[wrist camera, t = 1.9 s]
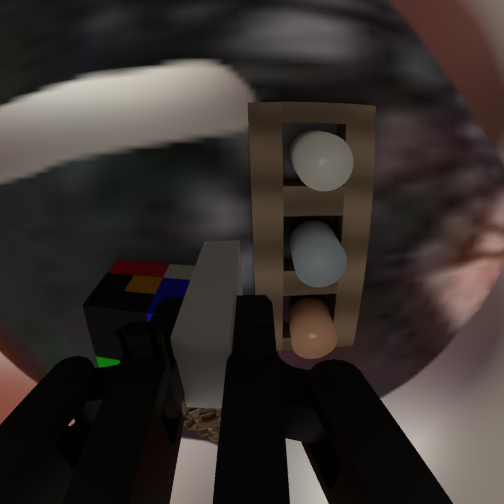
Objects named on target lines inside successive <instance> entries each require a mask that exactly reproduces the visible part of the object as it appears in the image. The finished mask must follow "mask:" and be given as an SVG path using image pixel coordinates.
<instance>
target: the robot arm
mask: <svg viewBox="0 0 504 504" xmlns="http://www.w3.org/2000/svg"><path fill="white" fill-rule="evenodd" d="M113 335H114V338H115V341H116V344H117V347H118V350H119V353H120V356H121V360H120V362H119V364H117V365H112V366H106V367H100V368H94V366H93V364H92V362H91V360H89V359H87V358H86V357H81V356H73V357H69V358H66V359H64V360H62V361H60V362H59V363H58V364H57V365H55V366H54V368H53V369H52V370H51V371H50V372H49V373H48V374H47V375H46V376H45V377H44V378H43V379H42V380H41V381H40V382H39V383H38V384H37V385H36V386H35V388H33V390H32V391H31V392H30V393H29V394H28V395H27V396H26V397H25V398H24V399H23V400H22V402H20V404H19V405H18V406H17V407H16V408H15V409H14V410H13V411H12V412H11V413H10V415H9V416H8V417H7V418H6V419H5V420H4V421H3V422H2V423H1V425H0V504H169V503H170V498H171V492H172V486H173V480H174V474H175V469H176V463H177V457H178V452H179V446H180V441H181V435H182V430H183V425H184V415H183V411H182V404H183V400H184V398H185V402H186V406H187V407H193V408H222V410H221V420H220V430H219V440H218V451H217V462H216V473H215V483H214V484H215V485H214V496H213V504H290V498H289V483H288V469H287V455H286V441H285V438H288V439H292V440H297V441H301V442H302V445H303V447H304V450H305V452H306V454H307V456H308V459H309V461H310V463H311V465H312V467H313V470H314V472H315V474H316V476H317V479H318V481H319V483H320V485H321V488H322V490H323V492H324V494H325V496H326V498H327V501H328V503H329V504H453V503H452V502H451V500H450V499H449V497H448V495H447V494H446V493H445V491H444V490H443V488H442V487H441V485H440V484H439V482H438V481H437V479H436V478H435V476H434V475H433V474H432V472H431V471H430V469H429V468H428V466H427V465H426V464H425V462H424V461H423V459H422V458H421V456H420V455H419V454H418V452H417V451H416V449H415V448H414V446H413V445H412V444H411V442H410V441H409V439H408V438H407V436H406V435H405V433H404V432H403V431H402V429H401V428H400V426H399V425H398V424H397V422H396V421H395V419H394V418H393V416H392V415H391V414H390V412H389V411H388V409H387V408H386V407H385V405H384V404H383V402H382V401H381V400H380V398H379V397H378V395H377V394H376V393H375V391H374V390H373V388H372V387H371V386H370V384H369V383H368V381H367V380H366V379H365V377H364V376H363V374H362V373H361V372H360V370H359V369H358V368H356V367H355V366H354V365H353V364H351V363H348V362H346V361H343V360H336V359H333V360H325V361H322V362H320V363H317V364H316V365H315V366H314V367H313V368H312V369H311V370H305V369H300V368H296V367H293V366H290V365H288V364H286V363H285V362H284V361H283V360H281V358H280V357H279V356H278V353H277V350H276V338H275V327H274V315H273V304H272V302H271V300H270V299H269V298H268V297H267V296H266V295H242V275H241V256H240V240H237V241H205V242H204V244H203V247H202V250H201V252H200V255H199V258H198V261H197V263H196V266H195V269H194V272H193V274H192V277H191V280H190V283H189V286H188V288H187V291H186V294H185V297H165V298H164V299H163V300H162V301H161V302H160V303H158V304H157V306H156V308H155V310H154V312H153V315H152V316H151V319H150V322H149V321H134V322H131V323H128V324H125V325H123V326H122V327H120V328H119V329H118V330H117V331H116V332H115V333H114V334H113ZM73 418H74V420H75V423H74V424H73V425H71V426H68V425H69V423H70V422H71V421H72V420H73Z"/></svg>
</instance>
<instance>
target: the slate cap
mask: <svg viewBox="0 0 504 504" xmlns="http://www.w3.org/2000/svg"><path fill="white" fill-rule="evenodd" d="M289 248H290V252H291V256H292V260H293V264H294V268H295V272H296V274H297V276H298V278H299V279H300V280H301V281H302V282H303V283H304V284H306V285H308V286H311V287H326V286H329V285H331V284H333V283H335V282H336V281H337V280H339V279H340V278H341V276H342V275H343V273H344V272H345V269H346V266H347V256H346V253H345V251H344V249H343V247H342V246H341V244H340V242H339V241H338V239H337V237H336V236H335V234H334V233H333V231H332V229H331V228H330V227H329V226H328V225H327V224H326V223H324V222H322V221H318V220H309V221H305V222H303V223H301V224H299V225H298V226H297V227H296V228H295V229H294V230H293V231H292V233H291V235H290V238H289Z"/></svg>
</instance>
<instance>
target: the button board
mask: <svg viewBox="0 0 504 504" xmlns="http://www.w3.org/2000/svg"><path fill="white" fill-rule="evenodd" d="M248 121H249V146H250V171H251V196H252V221H253V247H254V272H255V295H266V296H267V297H268V298H269V299H270V300H271V302H272V304H273V315H274V327H275V338H276V350H277V351H285V350H293V348H292V342H291V336H290V329H289V323H283V296H293V295H314V294H330V299H329V312H330V315H331V318H332V321H333V324H334V327H335V330H336V333H337V337H338V339H337V344H336V346H335V347H343V346H353V343H354V338H355V332H356V327H357V321H358V315H359V309H360V303H361V296H362V289H363V283H364V275H365V268H366V260H367V251H368V242H369V233H370V222H371V211H372V198H373V183H374V164H375V132H376V106H371V105H359V104H344V103H322V102H252V103H248ZM282 123H322V124H338V137H340V138H341V139H343V140H344V141H345V142H346V143H347V144H348V146H349V147H350V149H351V151H352V155H353V162H354V163H353V170H352V173H351V175H350V177H349V178H348V180H347V181H346V182H345V183H344V184H343V185H342V186H340V187H339V188H337V189H335V190H332V191H317V190H314V189H312V188H310V187H308V186H307V185H306V184H304V183H303V181H302V180H283V148H282ZM335 215H336V220H335V236H336V237H337V239H338V241H339V242H340V244H341V246H342V247H343V249H344V251H345V253H346V256H347V266H346V269H345V272H344V273H343V275H342V276H341V278H340V279H339V280H337V281H336V282H335V283H333V284H331V285H329V286H326V287H311V286H308V285H306V284H304V283H303V282H302V281H301V280H300V279H299V278H298V276H297V274H296V272H295V268H294V264H293V260H292V259H283V217H287V216H335Z"/></svg>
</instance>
